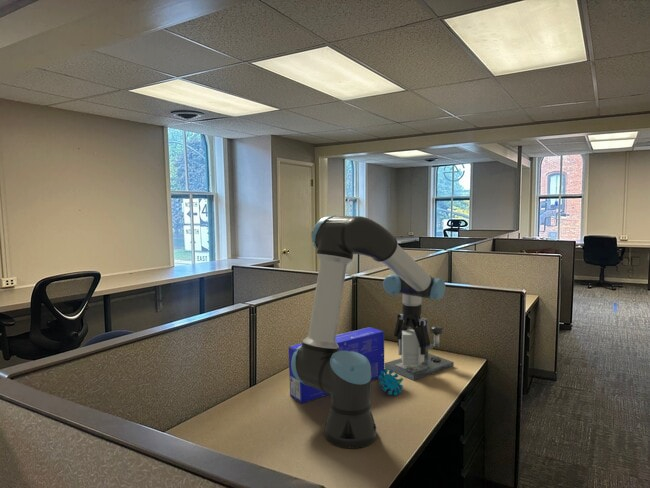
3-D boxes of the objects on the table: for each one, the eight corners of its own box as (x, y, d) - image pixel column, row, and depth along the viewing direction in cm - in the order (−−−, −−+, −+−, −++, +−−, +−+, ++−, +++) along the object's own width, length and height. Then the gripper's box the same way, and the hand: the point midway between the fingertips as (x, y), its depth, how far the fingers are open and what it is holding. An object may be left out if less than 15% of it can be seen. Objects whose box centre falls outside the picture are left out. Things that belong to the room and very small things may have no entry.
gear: (386, 395, 147) (376, 368, 153) (377, 403, 151) (367, 376, 156) (410, 392, 153) (399, 366, 159) (400, 399, 156) (390, 374, 162)
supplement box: (419, 359, 176) (419, 329, 175) (421, 366, 168) (422, 334, 167) (401, 358, 176) (401, 328, 175) (402, 365, 169) (403, 334, 168)
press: (413, 380, 164) (414, 334, 162) (384, 367, 177) (385, 325, 175) (453, 366, 178) (454, 324, 176) (424, 355, 190) (424, 316, 189)
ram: (437, 348, 176) (437, 329, 175) (427, 345, 180) (427, 327, 179) (444, 346, 179) (445, 327, 178) (435, 343, 183) (435, 325, 182)
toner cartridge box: (370, 370, 174) (370, 326, 172) (384, 377, 167) (385, 331, 165) (288, 395, 151) (287, 344, 150) (301, 404, 145) (300, 351, 143)
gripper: (440, 308, 163) (439, 364, 165) (398, 297, 182) (397, 348, 184) (427, 310, 159) (426, 368, 161) (385, 300, 177) (384, 352, 179)
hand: (411, 358), depth 172 cm, fingers closed on supplement box, 10 cm apart
